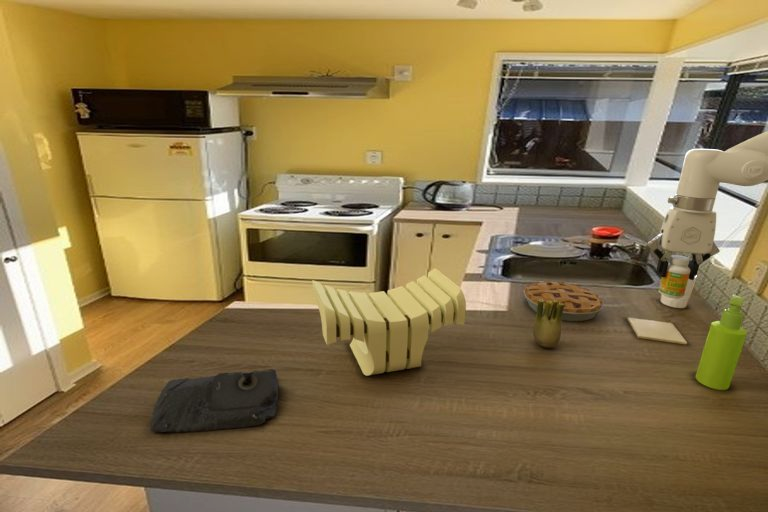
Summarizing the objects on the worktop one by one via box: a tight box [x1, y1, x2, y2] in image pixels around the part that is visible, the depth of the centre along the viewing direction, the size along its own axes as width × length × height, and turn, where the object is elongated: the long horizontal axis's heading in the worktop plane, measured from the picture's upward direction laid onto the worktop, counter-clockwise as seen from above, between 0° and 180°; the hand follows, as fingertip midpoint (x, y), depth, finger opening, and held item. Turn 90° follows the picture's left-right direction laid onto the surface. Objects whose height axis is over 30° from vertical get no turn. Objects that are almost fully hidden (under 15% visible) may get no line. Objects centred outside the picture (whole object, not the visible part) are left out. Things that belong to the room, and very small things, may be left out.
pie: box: [523, 280, 604, 322], centre depth 125 cm, size 22×22×5 cm
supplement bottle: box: [658, 254, 691, 298], centre depth 104 cm, size 5×5×10 cm
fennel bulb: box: [533, 300, 565, 349], centre depth 103 cm, size 6×5×12 cm
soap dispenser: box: [695, 294, 748, 391], centre depth 88 cm, size 6×7×20 cm
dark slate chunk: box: [149, 368, 279, 434], centre depth 80 cm, size 15×22×5 cm
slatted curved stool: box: [311, 267, 467, 377], centre depth 94 cm, size 30×16×18 cm, turn 108°
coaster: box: [627, 317, 688, 345], centre depth 113 cm, size 11×11×1 cm
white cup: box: [660, 275, 698, 309], centre depth 129 cm, size 8×8×10 cm
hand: (675, 275), depth 104 cm, fingers closed on supplement bottle, 5 cm apart
